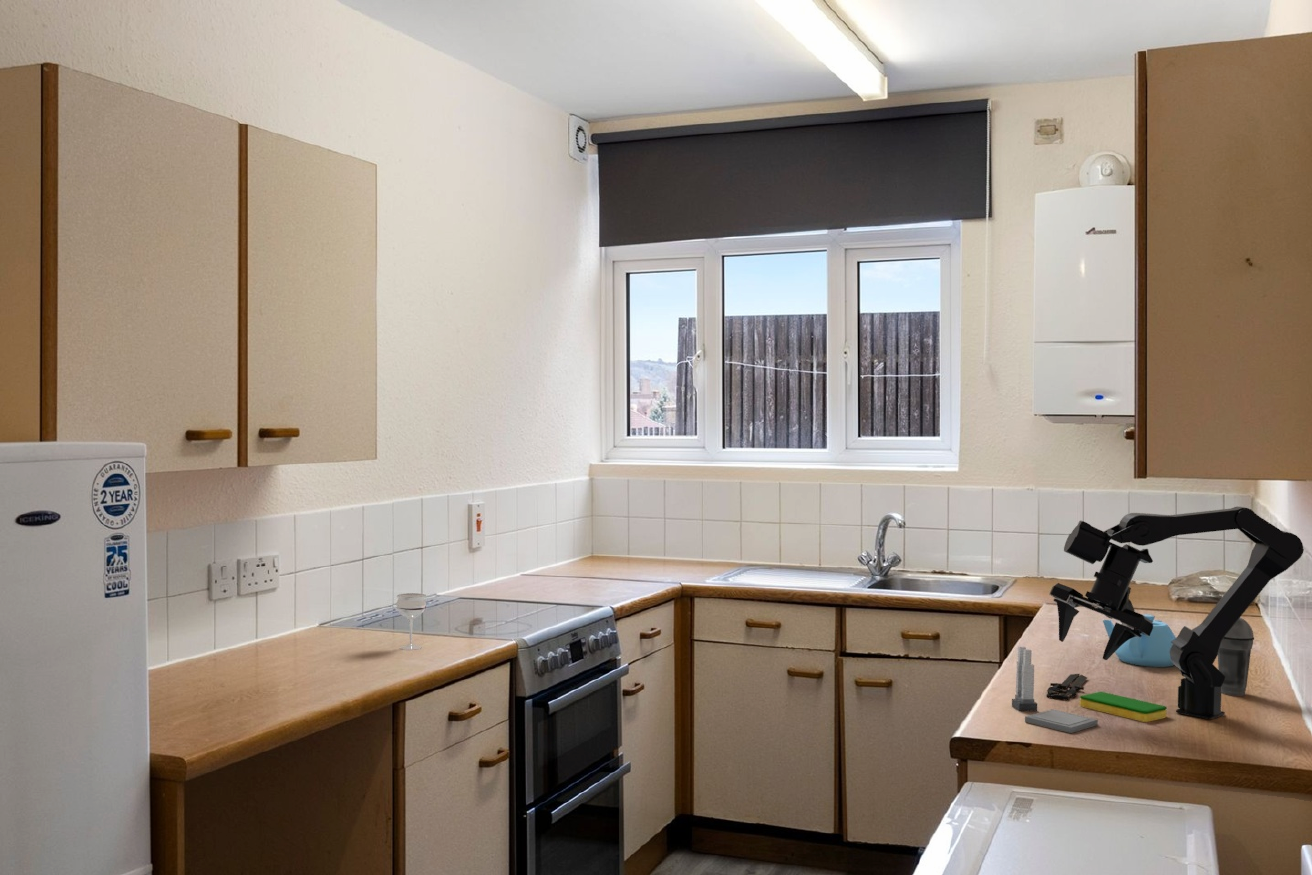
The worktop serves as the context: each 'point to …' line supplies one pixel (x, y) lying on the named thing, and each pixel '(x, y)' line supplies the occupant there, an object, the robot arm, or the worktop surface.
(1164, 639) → the teapot
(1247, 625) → the beverage cup
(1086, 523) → the robot arm
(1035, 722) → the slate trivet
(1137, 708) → the dish sponge
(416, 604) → the wineglass
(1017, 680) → the grey stepped bar
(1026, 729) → the worktop surface
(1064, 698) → the dark piece
